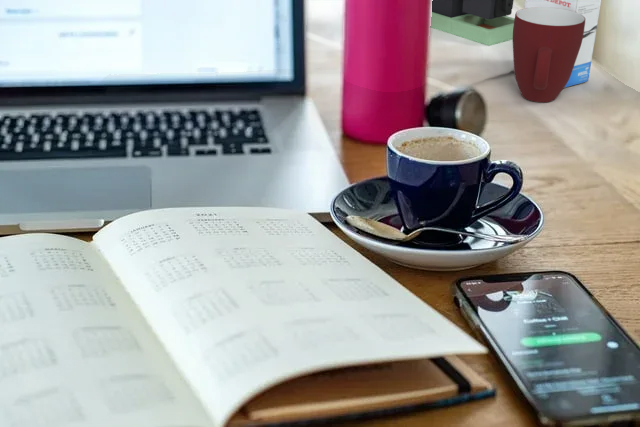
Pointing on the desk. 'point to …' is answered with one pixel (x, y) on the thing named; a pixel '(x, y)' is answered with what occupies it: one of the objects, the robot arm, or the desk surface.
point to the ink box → (587, 5)
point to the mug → (545, 50)
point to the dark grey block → (480, 8)
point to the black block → (448, 7)
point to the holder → (476, 27)
